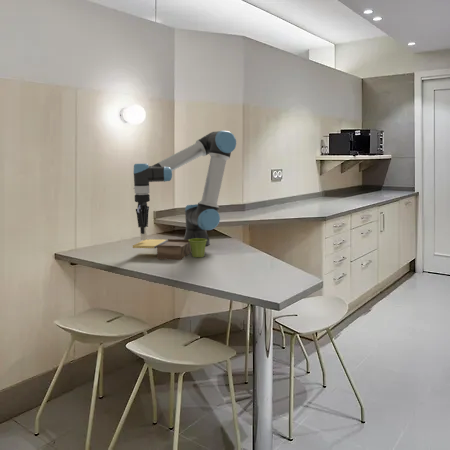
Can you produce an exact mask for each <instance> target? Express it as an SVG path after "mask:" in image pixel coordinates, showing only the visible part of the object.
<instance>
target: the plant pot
mask: <svg viewBox="0 0 450 450" xmlns="http://www.w3.org/2000/svg"><path fill="white" fill-rule="evenodd" d="M206 241H207V239H203V238H194V239H189V242H190V246H191V257H192V258H203V257H205V252H206V246H207V245H206ZM205 245H206V246H205Z"/></svg>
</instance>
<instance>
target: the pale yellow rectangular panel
mask: <svg viewBox="0 0 450 450" xmlns="http://www.w3.org/2000/svg"><path fill="white" fill-rule="evenodd" d="M167 241H168V239H150V238H149V239H148V238H147V240H140V241H139V242H136V244H133V245H132V248H133V249H157V245H162V244H164V243H166V242H167Z"/></svg>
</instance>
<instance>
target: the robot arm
mask: <svg viewBox="0 0 450 450" xmlns="http://www.w3.org/2000/svg"><path fill="white" fill-rule="evenodd" d="M236 146H237V139H236V137H235V135H234V134H233V133H232V132H230V131H229V130H220V131H219V130H218V131H212V132H209V133H207V134H206V135H204V136H203V137H201V138H199V139H197V140H195V143H193V144H192V145H189V146H188V147H186V148H184V149H182V150H180V151H178V152H176V153H174V154H172V155H170V156H168V157H166V158H164V159H162V160H160V161H158V162H157V163H155V164H153V165H149V163H135V164H134V165H133V183H134V184H133V185H134V186H133V190H134V194H135V195H134V202H135V203H137V208H135V212H136V219H137V226H138V227H137V228H139V231H140V241H143V240H147V239H148V238H147V236H148V234H147V228H148V227H149V209H150V206H148V202H150V200H151V199H150V193H151V192H150V183H155V182H158V183H159V182H164V183H165V182H170V181H171V180H172V177H173V171H175V170H177V169H179V168H181V167H183V166H185V165H187V164H188V163H190V162H192V161H194V160H196V159H198V158H200V157H206V156H207V155H208V156H210V160H209V165H208V169H207V172H206V173H207V175H206V179H205V184H204V187H203V193H202V197H201V200H200V201H199V202H198V203H197V204H196V203H195V204H186V206H185V209H184V210H185V211H184V212H185V234H184V237H183V239H194V238H203V239H207V241H206V245H205V247H207V246H209V245H210V243H211V241H210V238H209V234H208V232H207V231H211V230H214V229H215V228H217V226H218V225H219V224H220V220H221V217H220V214H219V209H220V206H219V204H218V200H219V196H220V191H221V187H222V181H223V178H224V172H225V169H226V164H227V161H228V160H229V159H230V158H231V155H232V152H233V151H235V149H236Z"/></svg>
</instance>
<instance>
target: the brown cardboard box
mask: <svg viewBox="0 0 450 450" xmlns="http://www.w3.org/2000/svg"><path fill="white" fill-rule="evenodd" d="M167 240H168V241H167V242H166V243H164V244H162V245H157V248H156V252H157V253H156V254H157V260H174V261H175V260H176V261H181V260H183V259H184V258H186V256H188V255H190V254H192V252H191V246H190V242H189V239H184V238H183V239H181V238H168V239H167Z"/></svg>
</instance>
